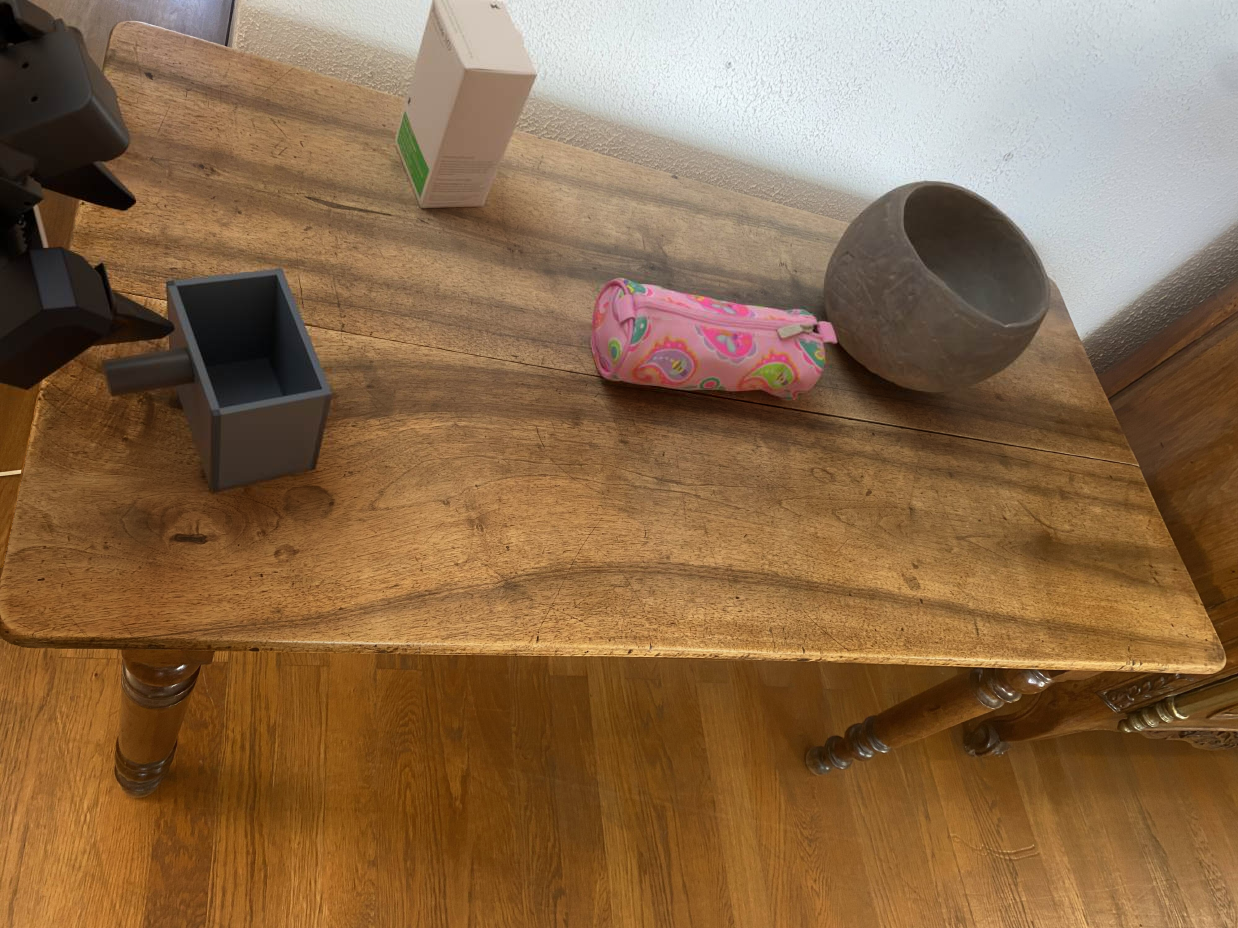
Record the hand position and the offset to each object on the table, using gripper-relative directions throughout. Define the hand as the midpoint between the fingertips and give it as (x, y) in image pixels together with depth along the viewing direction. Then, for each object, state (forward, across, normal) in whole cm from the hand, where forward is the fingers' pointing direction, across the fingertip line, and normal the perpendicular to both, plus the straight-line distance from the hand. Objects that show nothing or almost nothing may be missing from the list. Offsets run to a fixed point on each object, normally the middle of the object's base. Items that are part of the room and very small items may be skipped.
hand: (149, 266), depth 50 cm
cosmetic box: (+29, +18, -10) cm, 36 cm away
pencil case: (+40, -6, -21) cm, 46 cm away
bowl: (+58, -7, -39) cm, 70 cm away
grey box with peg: (+11, -4, +8) cm, 14 cm away
